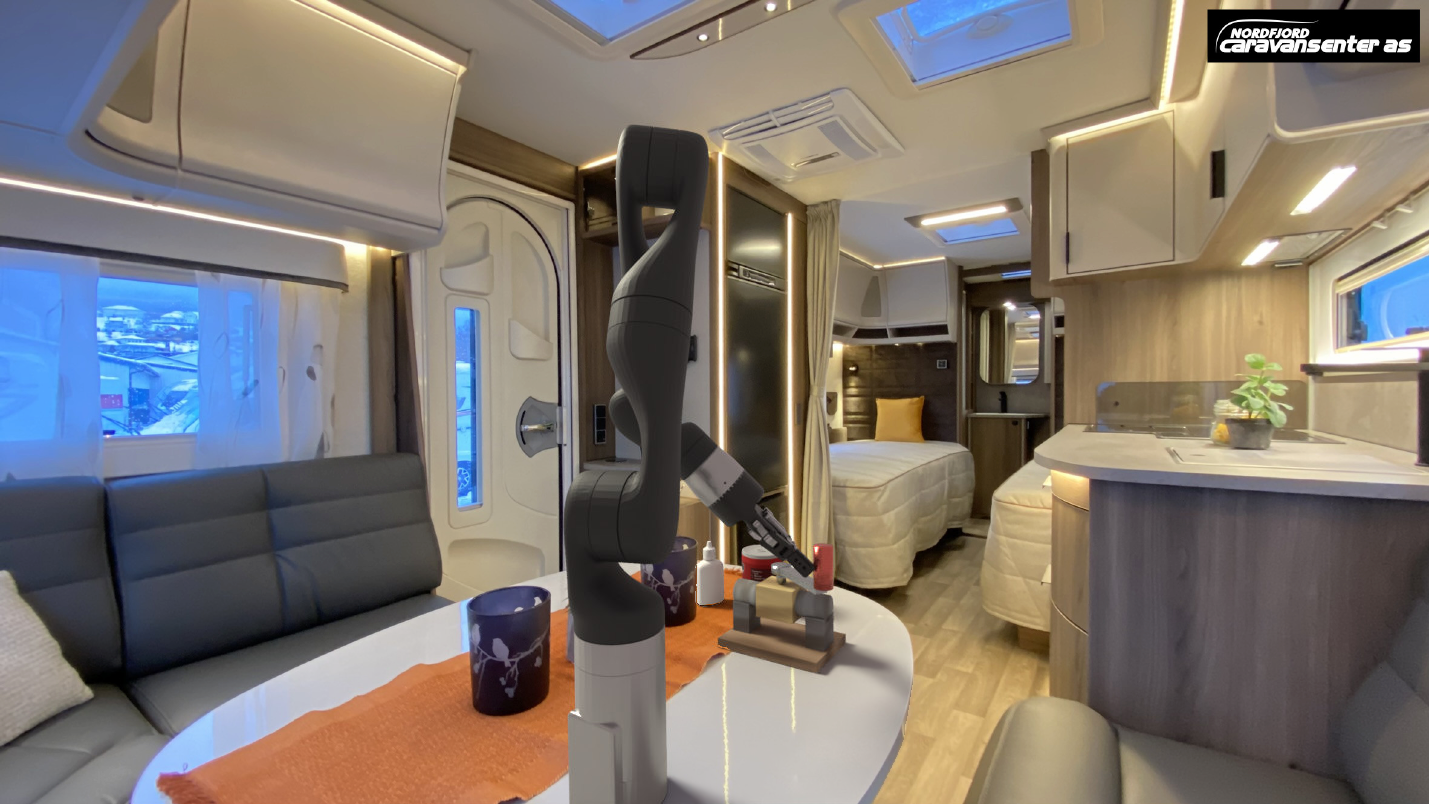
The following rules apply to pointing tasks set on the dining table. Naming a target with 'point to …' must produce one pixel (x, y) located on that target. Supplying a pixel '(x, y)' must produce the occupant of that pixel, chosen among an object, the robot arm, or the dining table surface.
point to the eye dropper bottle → (710, 577)
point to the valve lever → (821, 574)
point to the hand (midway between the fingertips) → (809, 571)
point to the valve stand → (782, 624)
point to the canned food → (757, 563)
